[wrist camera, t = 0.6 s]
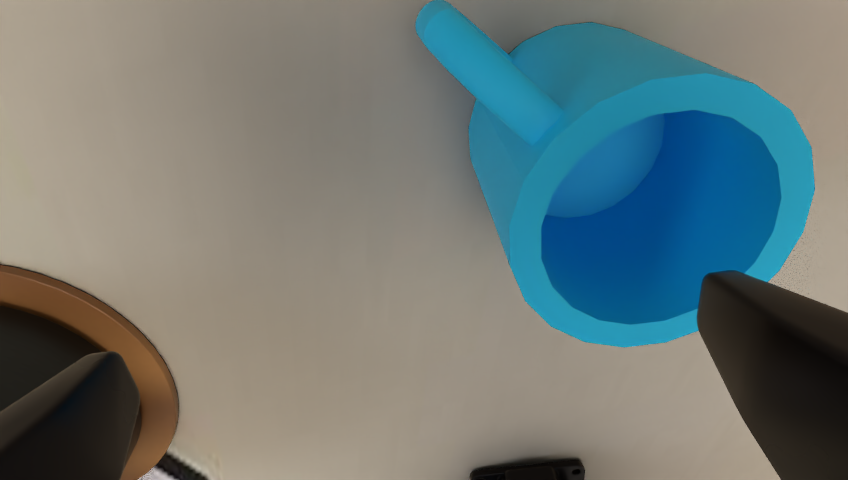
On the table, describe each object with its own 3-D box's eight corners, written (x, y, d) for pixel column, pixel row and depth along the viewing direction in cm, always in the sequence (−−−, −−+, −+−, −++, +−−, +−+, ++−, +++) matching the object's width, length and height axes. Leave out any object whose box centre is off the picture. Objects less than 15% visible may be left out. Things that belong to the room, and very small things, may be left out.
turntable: (212, 478, 30) (210, 486, 30) (-61, 505, 30) (-67, 513, 30) (119, 244, 23) (114, 250, 23) (-244, 278, 23) (-256, 285, 22)
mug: (714, 114, 22) (873, 203, 15) (566, 255, 25) (639, 386, 18) (494, -113, 18) (567, -143, 10) (346, 88, 20) (325, 172, 13)
